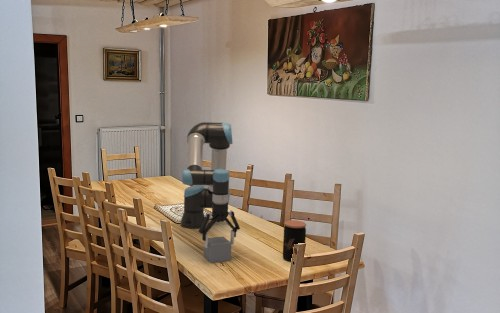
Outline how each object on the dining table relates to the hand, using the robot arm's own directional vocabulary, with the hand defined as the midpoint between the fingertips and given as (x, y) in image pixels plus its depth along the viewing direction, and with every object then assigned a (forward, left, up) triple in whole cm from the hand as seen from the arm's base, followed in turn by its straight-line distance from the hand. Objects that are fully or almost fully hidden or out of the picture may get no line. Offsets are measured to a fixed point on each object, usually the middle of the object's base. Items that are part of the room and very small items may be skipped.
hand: (219, 245), depth 228 cm
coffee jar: (+11, +35, -7) cm, 37 cm away
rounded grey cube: (-2, 0, -7) cm, 7 cm away
